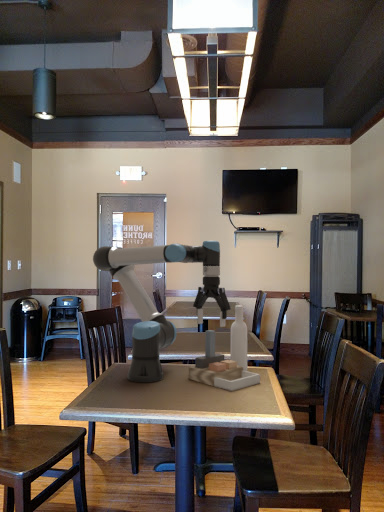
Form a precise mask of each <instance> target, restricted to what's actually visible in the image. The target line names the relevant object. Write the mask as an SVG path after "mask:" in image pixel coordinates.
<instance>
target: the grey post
mask: <svg viewBox="0 0 384 512" xmlns="http://www.w3.org/2000/svg"><path fill="white" fill-rule="evenodd" d="M204 343H205V345H204V346H205V347H204V348H205V349H204V350H205V352H204V353H205V354H204V355H202V356H197V357H195V362H194V363H195V365H194V366H195V367H197V368H201V369H204V368H208V367H209V364H210V363H215V362H219V363H220V361H224V360H225V354H223V353H218V352H217V353H216V330H212V329H209V330H205V342H204Z"/></svg>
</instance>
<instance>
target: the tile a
mask: <svg viewBox="0 0 384 512" xmlns="http://www.w3.org/2000/svg"><path fill="white" fill-rule="evenodd" d="M209 370H212V371H216V372H220V371H224V370H226V364H224V363H219V362H215V363H210V364H209Z"/></svg>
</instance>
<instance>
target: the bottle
mask: <svg viewBox="0 0 384 512" xmlns="http://www.w3.org/2000/svg"><path fill="white" fill-rule="evenodd" d="M234 313H235V318H234V321H233V322H232V323H231V326H230V353H229V354H230V359H229V360H232V361H236V362H237V366H242V367H243V370H244V371H248V326H247V324H246V322H245V321H244V306H243V305H239V304H238V305H237V304H236V305H235V307H234Z"/></svg>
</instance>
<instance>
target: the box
mask: <svg viewBox="0 0 384 512" xmlns="http://www.w3.org/2000/svg"><path fill="white" fill-rule="evenodd" d="M260 383H261V374H259V373H257V372H252V371H249V370H247V371H244V370H243V371H242V378H239V379H235V380H231V381H229V380H225V379H221V378H218V377H214V386H213V387H216V388H217V389H222V390H226V391H228V392H233V391H237V390H239V389H240V390H241V389H243V388H247V387H250V386H254V385H257V384H260Z"/></svg>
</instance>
